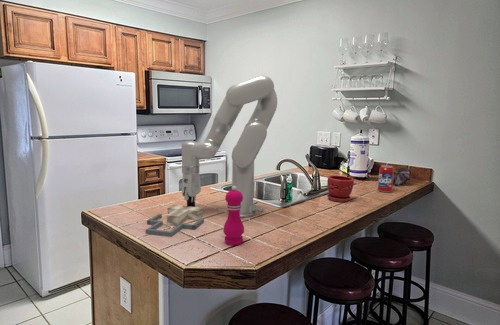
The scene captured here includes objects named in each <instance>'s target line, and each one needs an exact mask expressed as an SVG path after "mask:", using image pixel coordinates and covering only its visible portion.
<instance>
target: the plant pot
mask: <svg viewBox="0 0 500 325" xmlns="http://www.w3.org/2000/svg"><path fill="white" fill-rule="evenodd" d="M354 182H355V180H354V178H352V177H349V176H345V175H329V176H328V177H327V183H326V184H327V191H328V193H327V194H326V195H327V196H326V197H327V198H328V199H329V200H330V201H333V202H339V203H343V202H344V203H345V202H348V201H350V200H351V196H350V195H351V194H352V191H353V189H354V188H353V187H354Z"/></svg>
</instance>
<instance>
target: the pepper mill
mask: <svg viewBox="0 0 500 325" xmlns="http://www.w3.org/2000/svg"><path fill="white" fill-rule="evenodd" d="M224 200H225V201H226V209H227V211H228V212H227V213H228V214H227V218H226V220H225V222H224V224H223V228H222V230H223V233H224V235H225V236H224V243H225V244H226V245H228V246H239V245H242V243H243V241H244V240H243V239H244V237H243V234H244V233H245V226H244V223H243V221H242V219H241V218H242V217H240V209H241V204H240V203H241V202H242V200H243V195H242V193H241V192H240V191H237V187H236V186H232V185H231V190H229V191H227V193H226V194H225V199H224Z"/></svg>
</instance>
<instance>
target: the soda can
mask: <svg viewBox="0 0 500 325" xmlns="http://www.w3.org/2000/svg"><path fill="white" fill-rule="evenodd" d="M394 170H395V169H394V166H392V165H383V164H382V165H380V167H379V170H378V172H379V173H378V182H377V190H378V191H380V192H381V193H390V192H393V188H394V184H393V176H394Z"/></svg>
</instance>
